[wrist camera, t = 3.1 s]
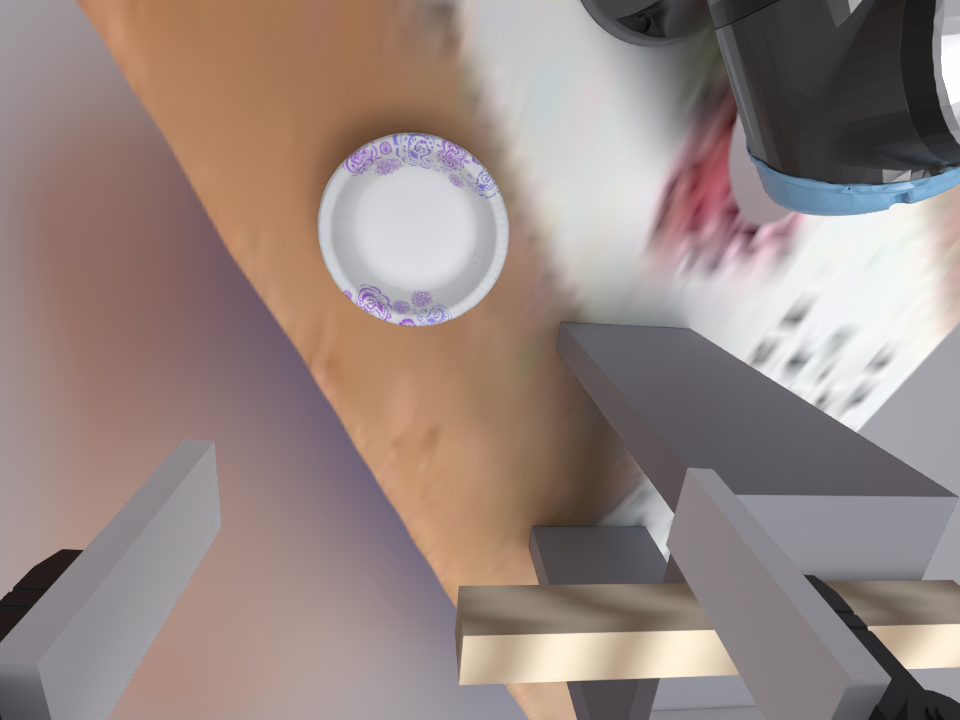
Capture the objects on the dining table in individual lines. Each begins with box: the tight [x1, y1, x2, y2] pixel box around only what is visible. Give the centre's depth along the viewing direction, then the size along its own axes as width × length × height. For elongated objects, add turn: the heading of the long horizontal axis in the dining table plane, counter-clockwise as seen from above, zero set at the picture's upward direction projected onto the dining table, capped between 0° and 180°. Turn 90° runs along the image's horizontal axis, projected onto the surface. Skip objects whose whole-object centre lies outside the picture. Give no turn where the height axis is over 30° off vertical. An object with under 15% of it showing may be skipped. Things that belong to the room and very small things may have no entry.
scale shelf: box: [529, 322, 959, 720], centre depth 46 cm, size 14×29×31 cm, turn 175°
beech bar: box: [455, 580, 960, 685], centre depth 28 cm, size 28×3×3 cm, turn 85°
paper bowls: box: [318, 133, 509, 326], centre depth 46 cm, size 15×15×8 cm
